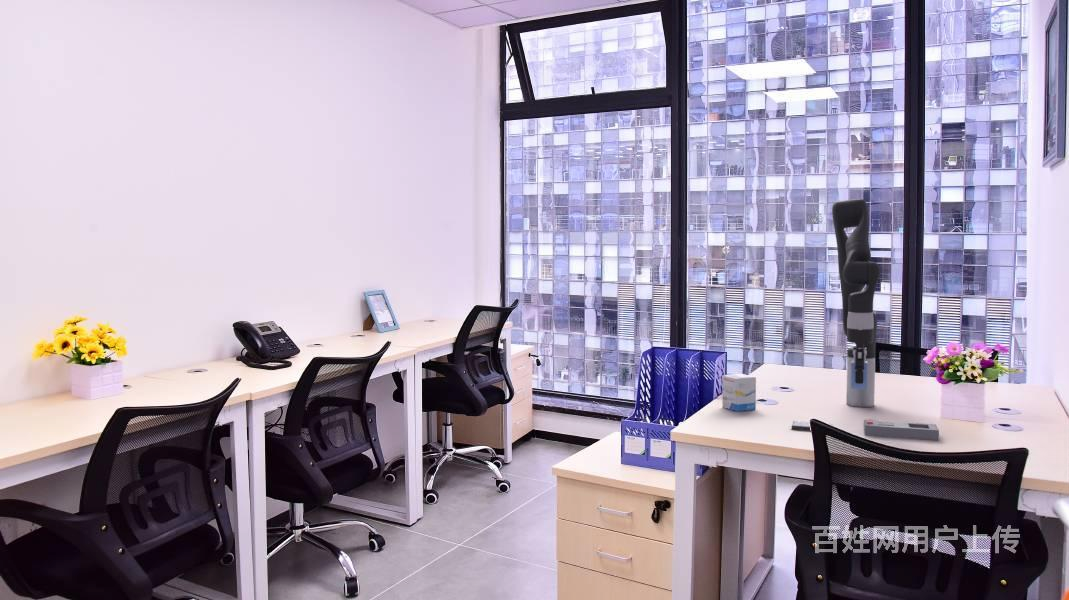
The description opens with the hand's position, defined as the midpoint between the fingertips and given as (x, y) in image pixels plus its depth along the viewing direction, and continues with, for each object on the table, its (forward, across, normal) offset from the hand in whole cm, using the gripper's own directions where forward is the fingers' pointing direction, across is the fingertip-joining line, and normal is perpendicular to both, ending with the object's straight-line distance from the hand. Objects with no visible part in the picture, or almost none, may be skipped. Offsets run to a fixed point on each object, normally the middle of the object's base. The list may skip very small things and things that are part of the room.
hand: (859, 381), depth 241 cm
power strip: (+15, +1, +12) cm, 19 cm away
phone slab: (+15, +2, -13) cm, 20 cm away
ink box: (+16, -20, -39) cm, 47 cm away
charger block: (+2, 0, 0) cm, 2 cm away
